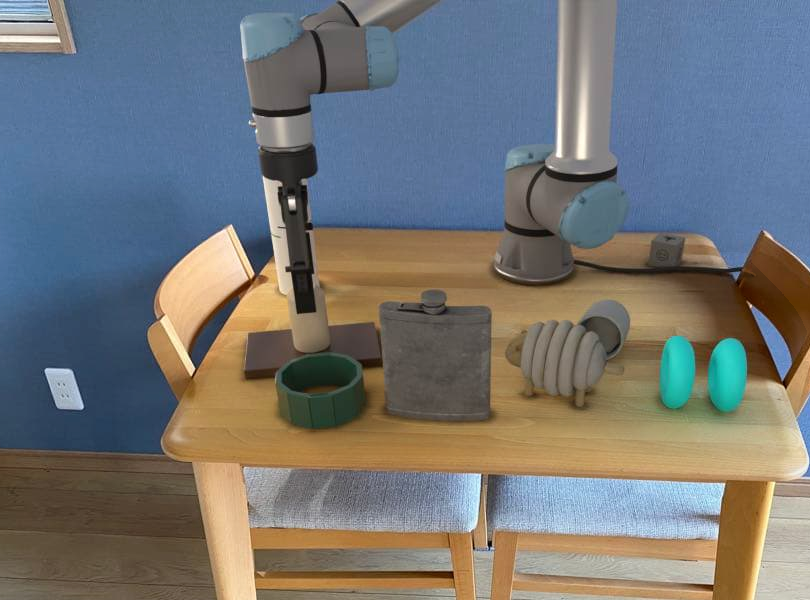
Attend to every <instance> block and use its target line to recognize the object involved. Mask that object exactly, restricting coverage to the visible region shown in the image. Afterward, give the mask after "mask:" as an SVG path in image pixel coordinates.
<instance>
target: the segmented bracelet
mask: <svg viewBox="0 0 810 600" xmlns="http://www.w3.org/2000/svg"><path fill="white" fill-rule="evenodd" d="M274 382H275V390H276V395H277V403H278V407H279V414H280V416H281V417H283V419H285V420H286V421H288V423H289V424H291V425H293V426H297V427H302V428H305V429H311V430H315V429H324V428H335V427H339V426H341V425H343V424H346V423H348V422H350V421H352V420H354V419H356V418H357V417H358V416H359V415H360V414H361V413H362V411H363V410H364V409H365V408H366V406H367V401H366V390H365V389H366V388H365V380H364V372H363V368H362V364H361V363H359V362H358V361H356V360H355V359H353V358H352V357H350V356H348V355H343V354H337V353H332V352H325V353H315V354H308V355H304V356H301V357H298V358H296V359H293V360H290V361H288V362H287V363H286V364H284V365H283V366H282V367H281V368H280V369H279V370H278V371H277V372H276V376H275V381H274ZM321 386H323V387H324V386H335V387H339V388H338V389H337V388H336V389H335V390H332V391H329V392H317V393H307V392H302V391H305V390H308V389H310V388H313V387H321Z"/></svg>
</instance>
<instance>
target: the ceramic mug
mask: <svg viewBox="0 0 810 600" xmlns="http://www.w3.org/2000/svg"><path fill="white" fill-rule="evenodd" d="M573 325H574V326H575V325H582V326H584V327H585V329H586V331H587V332H590V331H592V332H595V333H596V334H597V335H598V336H599V341H600V343H601V344H602V345H603V347H604V349H605V352H606V356H607V361H608V360H611V359H613V358H614V357H616V356H617V355H618V354H619V353H620V352H621V350H622V348H623V346H624V343H625V341H626V339H627V336H628V334H629V331H630V329H631V317H630V314H629V311H628V310H627V308H626V307H625V306H624V305H623V304H622V303H621V302H618V301H616V300H613V299H602V300H601V299H600V300H598V301H596V302H594V303H593V304H592V305H591V306H590V307H588V309H587V310H586V311H585V313H584V314H583V315H582V317H581V318H580V319H579V321H578V322H577V323H576V324H573Z"/></svg>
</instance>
